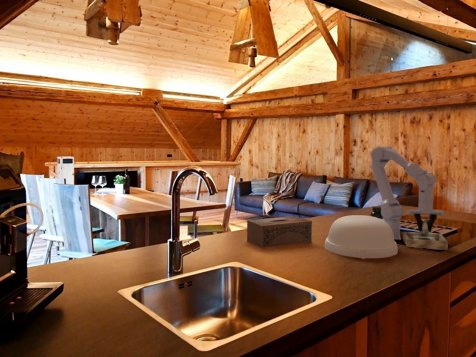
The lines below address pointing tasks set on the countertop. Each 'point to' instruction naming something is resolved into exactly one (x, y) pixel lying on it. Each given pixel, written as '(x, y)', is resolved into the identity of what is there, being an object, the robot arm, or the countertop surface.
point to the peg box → (425, 241)
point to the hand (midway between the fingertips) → (424, 230)
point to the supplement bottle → (376, 212)
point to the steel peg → (424, 228)
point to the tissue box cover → (279, 231)
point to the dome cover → (361, 237)
